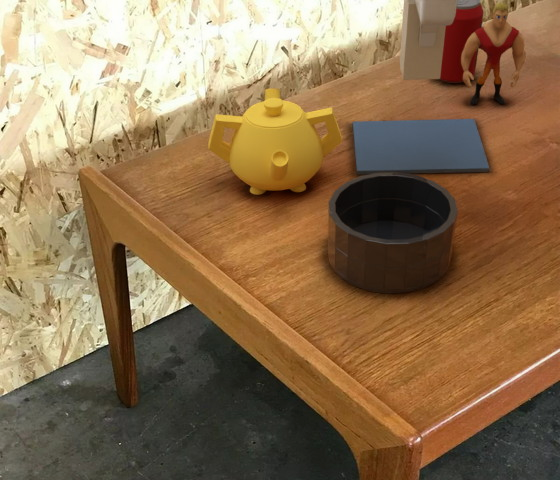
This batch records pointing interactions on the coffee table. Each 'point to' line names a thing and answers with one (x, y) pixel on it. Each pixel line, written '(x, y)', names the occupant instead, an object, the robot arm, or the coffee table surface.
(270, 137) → the teapot
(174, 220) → the coffee table surface
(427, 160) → the blue rectangular board
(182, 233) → the coffee table surface
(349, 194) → the pot
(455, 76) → the beverage can
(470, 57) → the action figure
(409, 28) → the item
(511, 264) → the coffee table surface
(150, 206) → the coffee table surface
